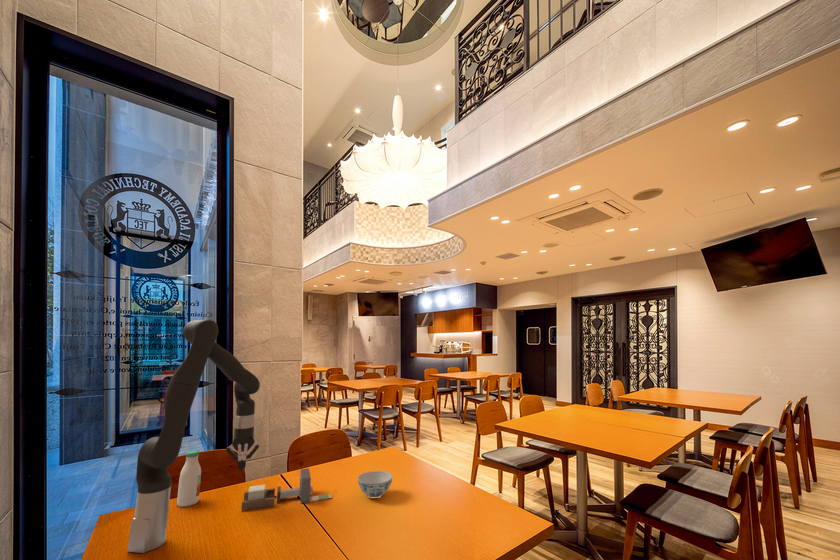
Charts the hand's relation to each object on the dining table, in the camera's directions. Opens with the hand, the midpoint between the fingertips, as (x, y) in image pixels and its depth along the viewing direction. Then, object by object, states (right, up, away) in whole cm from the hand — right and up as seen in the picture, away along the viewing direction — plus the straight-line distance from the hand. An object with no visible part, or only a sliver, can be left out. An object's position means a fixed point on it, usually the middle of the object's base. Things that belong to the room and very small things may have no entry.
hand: (241, 469), depth 151 cm
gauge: (+18, -15, +4) cm, 23 cm away
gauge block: (+6, -14, 0) cm, 15 cm away
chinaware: (+54, -15, +7) cm, 57 cm away
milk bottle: (-22, -14, 0) cm, 26 cm away
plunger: (+21, -14, +4) cm, 25 cm away
